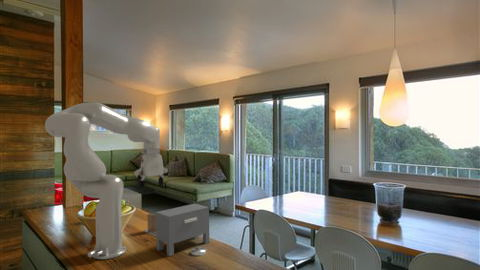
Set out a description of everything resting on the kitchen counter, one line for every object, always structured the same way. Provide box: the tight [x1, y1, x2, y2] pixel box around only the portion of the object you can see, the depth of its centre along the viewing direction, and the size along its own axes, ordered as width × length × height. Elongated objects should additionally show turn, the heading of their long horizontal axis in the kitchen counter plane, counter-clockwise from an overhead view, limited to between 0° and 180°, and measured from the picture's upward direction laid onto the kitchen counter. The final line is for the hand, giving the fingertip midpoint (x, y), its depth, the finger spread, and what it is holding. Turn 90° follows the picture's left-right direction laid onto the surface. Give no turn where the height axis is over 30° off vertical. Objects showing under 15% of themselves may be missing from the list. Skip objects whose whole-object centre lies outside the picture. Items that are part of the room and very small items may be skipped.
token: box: [190, 246, 207, 257], centre depth 120 cm, size 6×6×2 cm
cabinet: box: [155, 203, 210, 257], centre depth 127 cm, size 20×11×16 cm, turn 135°
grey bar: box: [143, 212, 156, 238], centre depth 141 cm, size 5×23×9 cm, turn 45°
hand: (151, 187), depth 145 cm, fingers open, 9 cm apart
